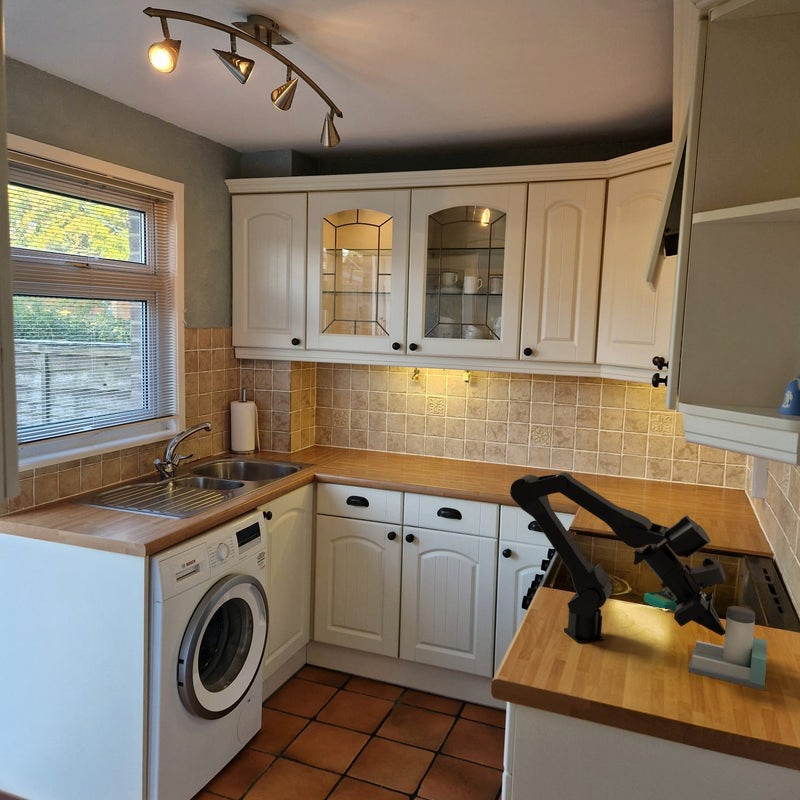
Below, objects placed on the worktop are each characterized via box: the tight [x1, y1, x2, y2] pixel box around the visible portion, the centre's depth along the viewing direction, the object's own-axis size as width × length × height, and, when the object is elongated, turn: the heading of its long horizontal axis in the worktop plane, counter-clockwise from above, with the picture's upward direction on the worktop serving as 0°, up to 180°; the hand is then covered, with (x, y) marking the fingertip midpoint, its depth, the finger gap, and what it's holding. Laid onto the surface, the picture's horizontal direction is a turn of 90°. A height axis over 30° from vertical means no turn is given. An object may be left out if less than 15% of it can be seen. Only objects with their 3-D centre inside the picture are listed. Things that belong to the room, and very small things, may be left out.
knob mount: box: [688, 636, 768, 691], centre depth 135 cm, size 13×10×6 cm
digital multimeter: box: [643, 589, 683, 611], centre depth 170 cm, size 7×15×3 cm, turn 114°
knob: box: [723, 605, 756, 668], centre depth 134 cm, size 5×5×11 cm
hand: (723, 634), depth 135 cm, fingers closed, pressing on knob
